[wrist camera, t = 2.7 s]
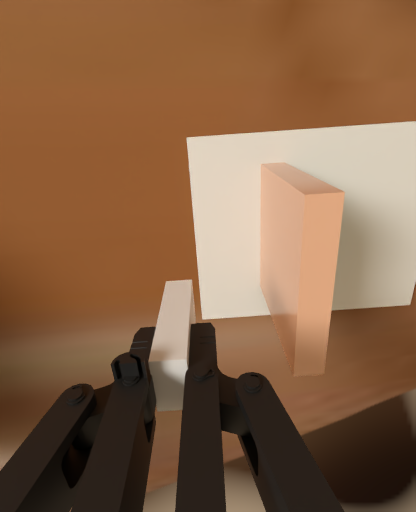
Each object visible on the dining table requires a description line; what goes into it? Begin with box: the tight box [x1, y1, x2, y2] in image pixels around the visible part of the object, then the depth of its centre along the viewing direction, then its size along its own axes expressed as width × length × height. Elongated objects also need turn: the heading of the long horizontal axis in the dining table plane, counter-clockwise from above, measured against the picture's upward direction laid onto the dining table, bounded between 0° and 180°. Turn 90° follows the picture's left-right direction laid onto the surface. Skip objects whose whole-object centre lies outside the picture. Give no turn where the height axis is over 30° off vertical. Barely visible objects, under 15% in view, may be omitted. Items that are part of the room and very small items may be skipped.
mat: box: [187, 121, 416, 319], centre depth 29 cm, size 22×18×1 cm
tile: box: [260, 162, 345, 377], centre depth 23 cm, size 2×12×12 cm, turn 4°
